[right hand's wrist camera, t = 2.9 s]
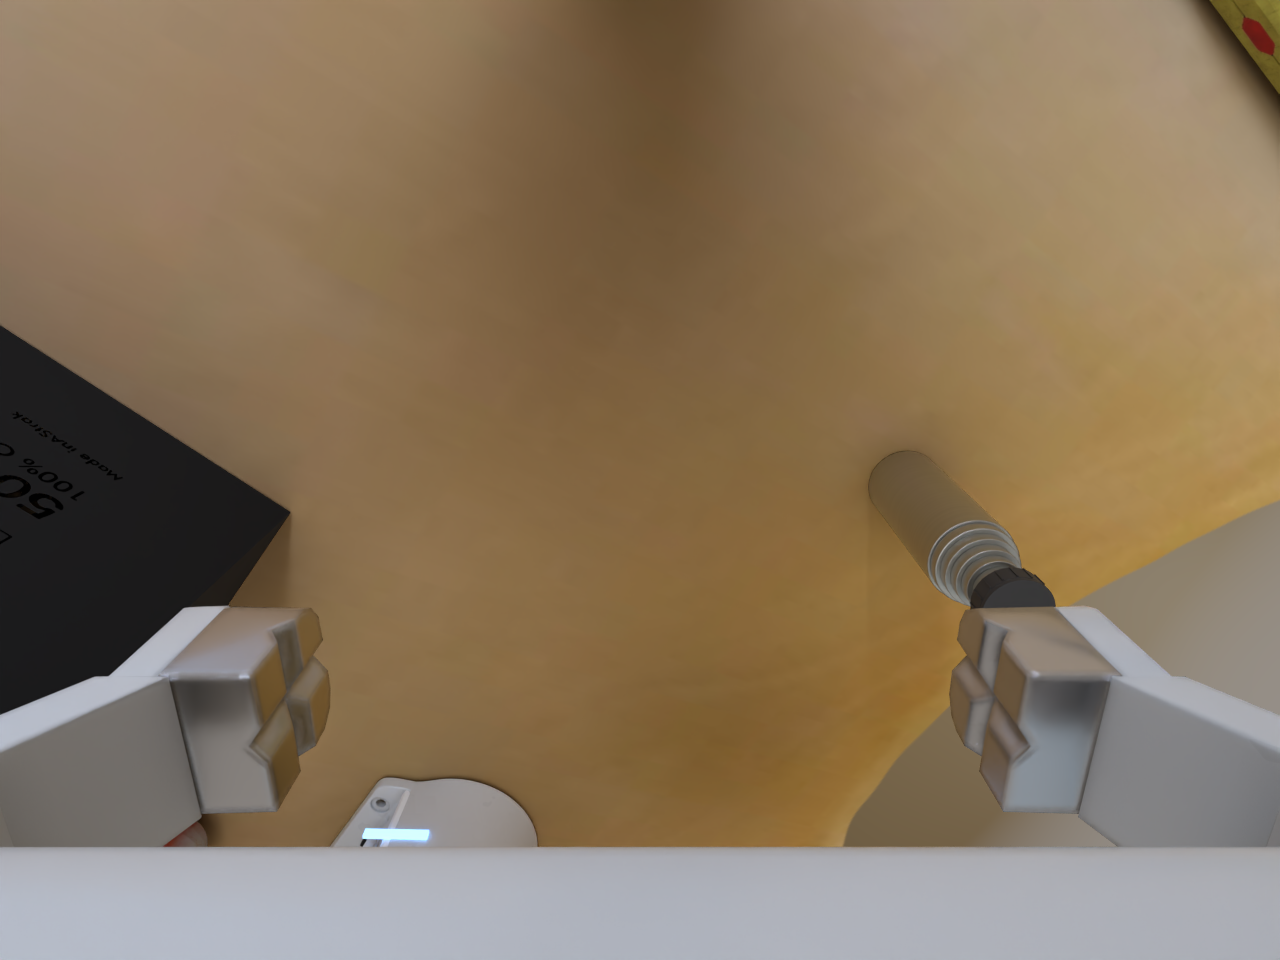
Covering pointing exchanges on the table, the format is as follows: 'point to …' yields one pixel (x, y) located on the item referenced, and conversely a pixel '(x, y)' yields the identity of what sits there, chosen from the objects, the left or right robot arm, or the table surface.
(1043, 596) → the cap
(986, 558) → the bottle
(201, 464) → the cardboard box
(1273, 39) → the toy gun
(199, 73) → the table surface
